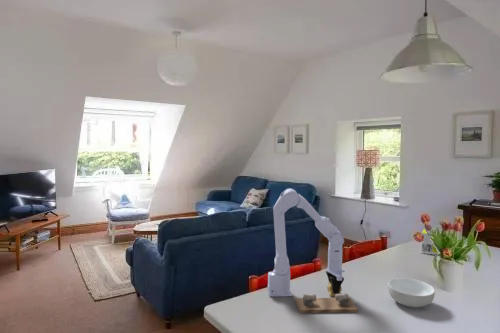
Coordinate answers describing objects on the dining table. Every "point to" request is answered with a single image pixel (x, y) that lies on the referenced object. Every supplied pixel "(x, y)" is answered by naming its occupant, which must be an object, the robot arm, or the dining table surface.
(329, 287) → the block
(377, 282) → the dining table surface
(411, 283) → the cereal bowl
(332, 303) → the shaft stand
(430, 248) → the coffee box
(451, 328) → the dining table surface
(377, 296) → the dining table surface
